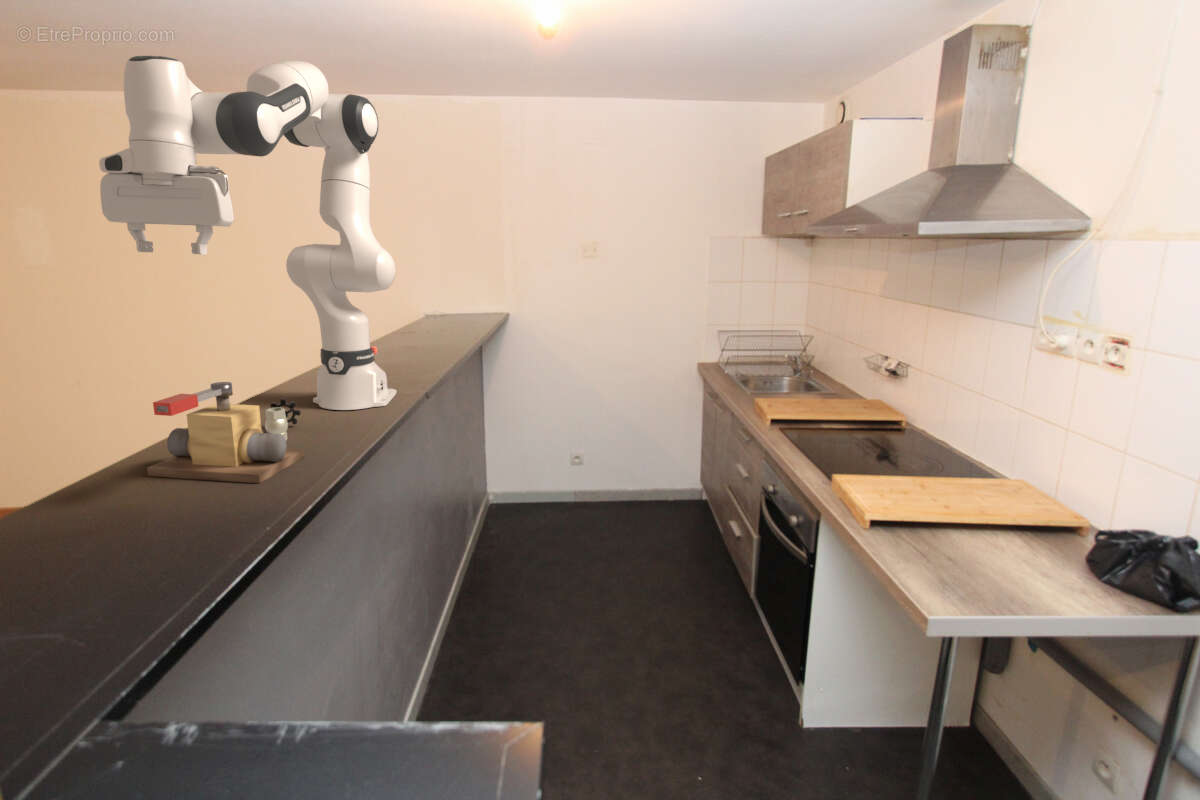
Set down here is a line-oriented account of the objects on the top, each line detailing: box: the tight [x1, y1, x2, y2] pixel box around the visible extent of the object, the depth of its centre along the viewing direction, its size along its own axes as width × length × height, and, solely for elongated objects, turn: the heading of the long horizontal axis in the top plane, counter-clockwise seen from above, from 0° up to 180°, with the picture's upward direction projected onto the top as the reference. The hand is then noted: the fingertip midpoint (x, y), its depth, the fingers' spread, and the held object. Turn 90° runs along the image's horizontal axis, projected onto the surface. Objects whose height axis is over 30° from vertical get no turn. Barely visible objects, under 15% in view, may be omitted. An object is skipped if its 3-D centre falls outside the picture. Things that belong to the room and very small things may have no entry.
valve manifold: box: [146, 396, 305, 484], centre depth 114 cm, size 14×20×13 cm
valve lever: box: [152, 381, 234, 417], centre depth 106 cm, size 16×3×2 cm, turn 175°
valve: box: [264, 397, 302, 441], centre depth 134 cm, size 7×7×12 cm
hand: (172, 253), depth 105 cm, fingers open, 8 cm apart
